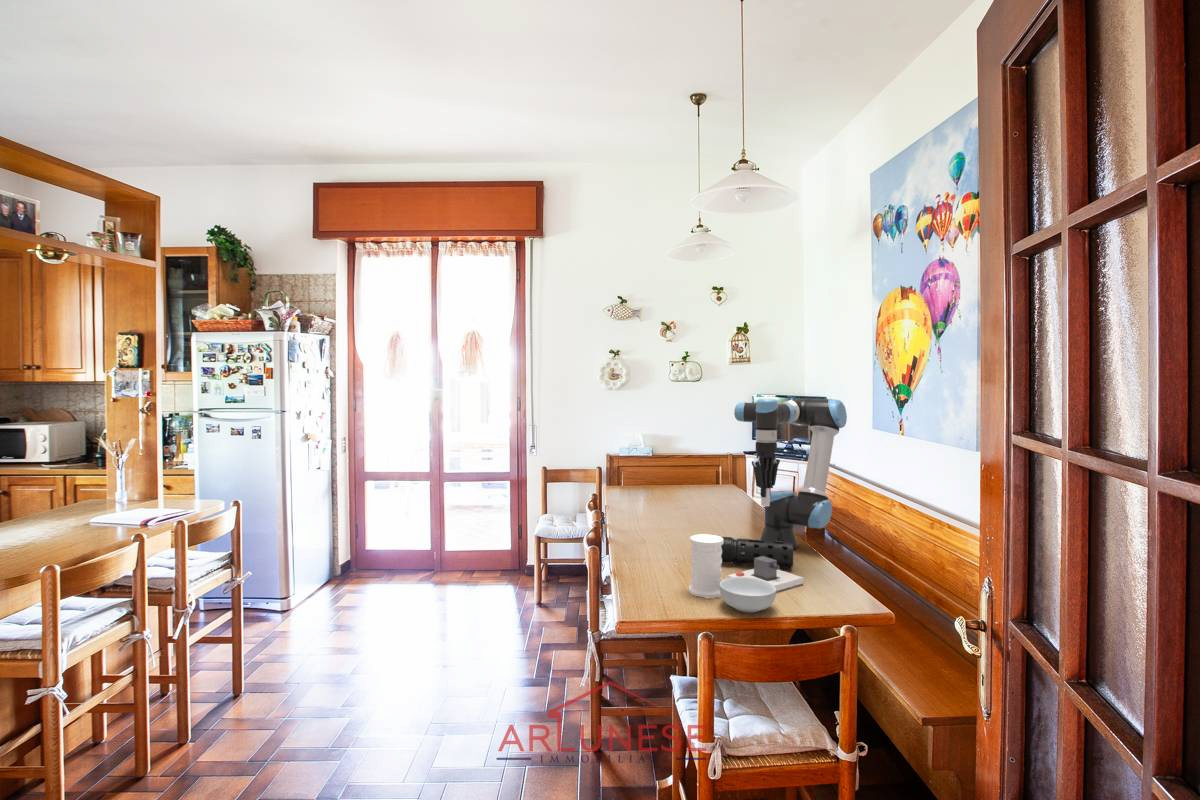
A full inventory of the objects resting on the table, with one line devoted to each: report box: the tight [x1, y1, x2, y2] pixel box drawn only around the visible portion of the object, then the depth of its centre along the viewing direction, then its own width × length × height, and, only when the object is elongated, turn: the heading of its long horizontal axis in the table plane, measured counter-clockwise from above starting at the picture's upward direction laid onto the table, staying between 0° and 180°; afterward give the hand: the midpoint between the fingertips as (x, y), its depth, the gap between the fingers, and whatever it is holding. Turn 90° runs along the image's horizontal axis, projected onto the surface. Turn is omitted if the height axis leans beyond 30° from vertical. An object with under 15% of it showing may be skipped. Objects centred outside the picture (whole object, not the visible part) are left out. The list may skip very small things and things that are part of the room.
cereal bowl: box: [720, 577, 777, 614], centre depth 186 cm, size 17×17×7 cm
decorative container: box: [688, 533, 723, 599], centre depth 199 cm, size 12×12×18 cm
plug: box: [753, 556, 781, 581], centre depth 207 cm, size 8×4×8 cm, turn 36°
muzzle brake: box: [721, 536, 794, 570], centre depth 228 cm, size 10×28×10 cm, turn 76°
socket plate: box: [727, 568, 804, 594], centre depth 208 cm, size 20×16×3 cm
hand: (765, 505), depth 220 cm, fingers closed
